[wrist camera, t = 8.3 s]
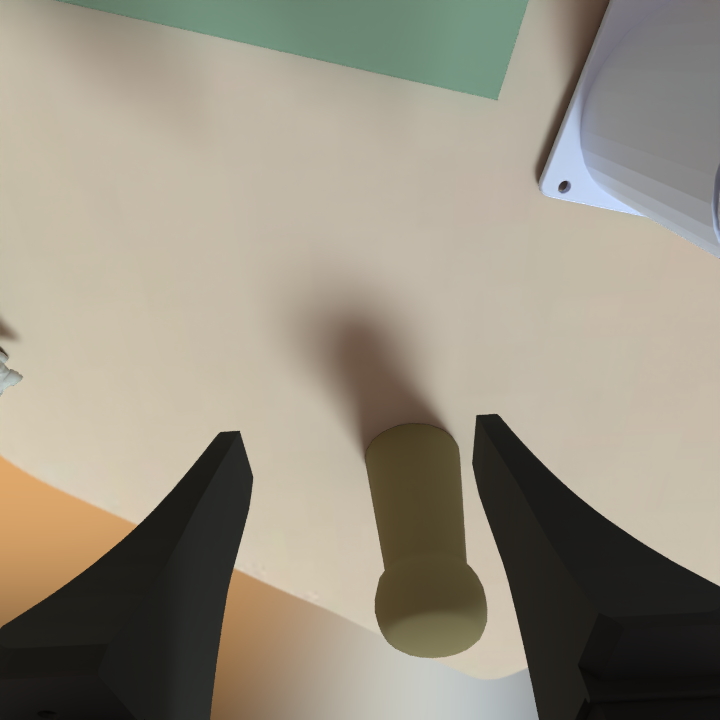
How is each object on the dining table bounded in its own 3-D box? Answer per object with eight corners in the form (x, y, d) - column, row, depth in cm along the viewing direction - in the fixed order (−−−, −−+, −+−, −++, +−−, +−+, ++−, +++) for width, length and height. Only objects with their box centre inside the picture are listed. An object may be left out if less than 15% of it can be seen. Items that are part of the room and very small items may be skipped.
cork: (362, 425, 27) (362, 611, 18) (463, 421, 27) (513, 607, 18) (367, 491, 31) (369, 676, 22) (457, 488, 31) (497, 673, 21)
